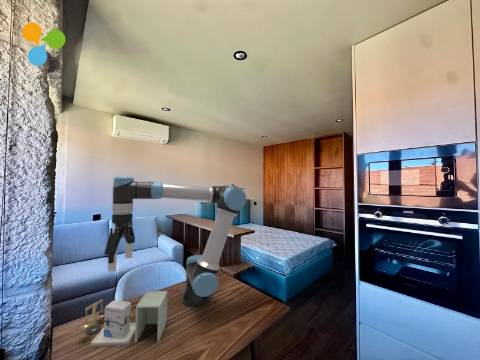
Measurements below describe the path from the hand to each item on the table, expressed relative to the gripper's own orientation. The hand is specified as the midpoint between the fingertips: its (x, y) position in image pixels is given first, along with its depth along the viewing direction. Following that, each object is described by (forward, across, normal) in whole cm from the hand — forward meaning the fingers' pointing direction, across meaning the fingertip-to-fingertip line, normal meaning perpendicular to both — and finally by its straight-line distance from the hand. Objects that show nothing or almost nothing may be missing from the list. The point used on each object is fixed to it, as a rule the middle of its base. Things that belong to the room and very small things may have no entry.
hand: (120, 263), depth 85 cm
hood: (+29, 0, +14) cm, 32 cm away
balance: (+29, -2, -11) cm, 31 cm away
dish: (+29, +2, 0) cm, 29 cm away
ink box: (+28, +1, 0) cm, 28 cm away
